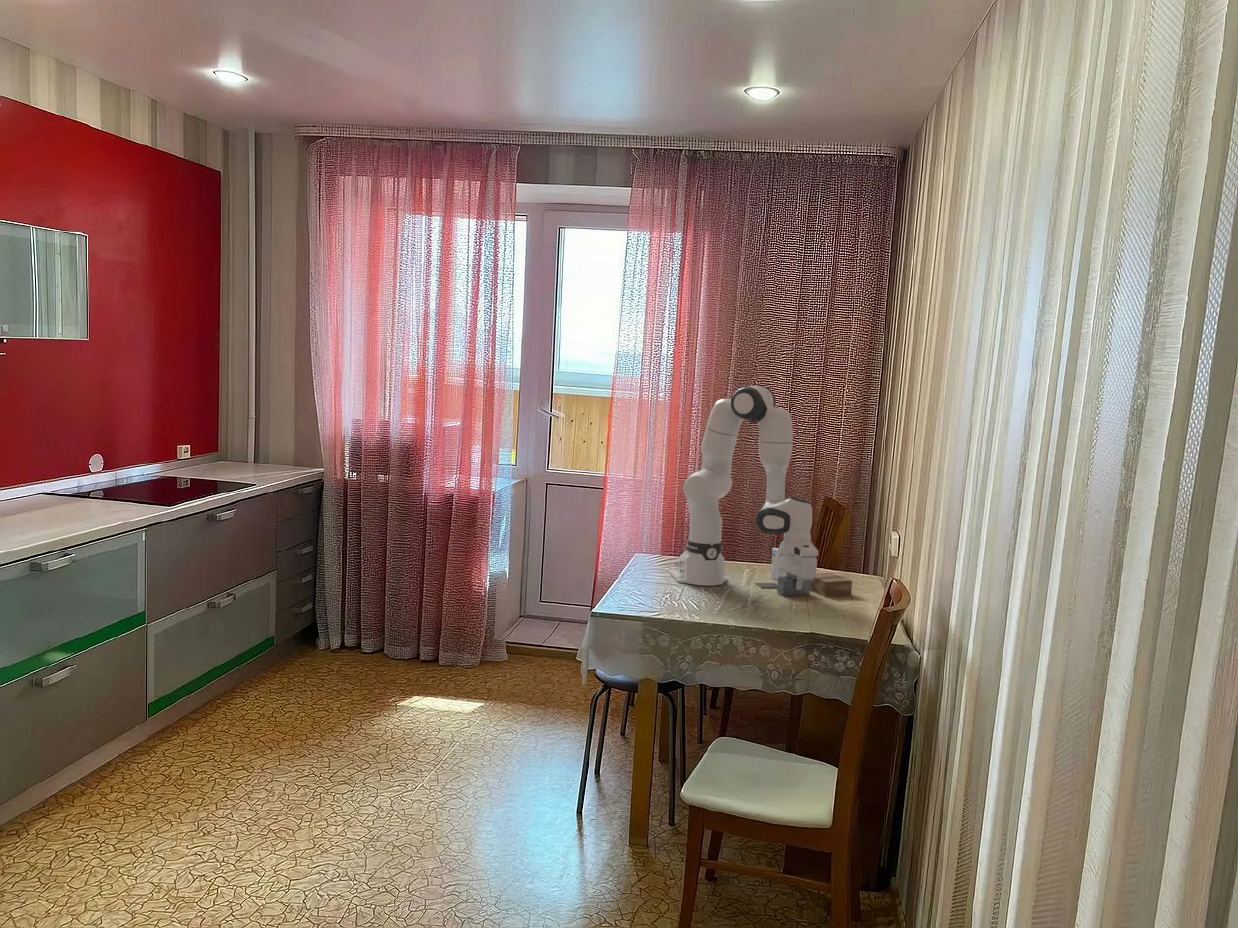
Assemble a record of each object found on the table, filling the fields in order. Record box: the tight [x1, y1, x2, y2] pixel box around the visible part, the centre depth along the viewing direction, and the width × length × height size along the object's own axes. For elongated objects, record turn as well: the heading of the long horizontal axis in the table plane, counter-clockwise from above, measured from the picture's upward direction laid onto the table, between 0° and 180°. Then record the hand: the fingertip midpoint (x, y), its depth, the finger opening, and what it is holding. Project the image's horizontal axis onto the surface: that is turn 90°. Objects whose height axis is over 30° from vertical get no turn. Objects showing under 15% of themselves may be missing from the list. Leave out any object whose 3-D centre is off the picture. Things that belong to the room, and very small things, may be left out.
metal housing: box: [776, 576, 811, 597], centre depth 309 cm, size 4×10×6 cm, turn 110°
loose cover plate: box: [754, 582, 778, 589], centre depth 319 cm, size 6×7×1 cm
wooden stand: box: [810, 572, 853, 598], centre depth 315 cm, size 12×10×5 cm
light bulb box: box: [770, 547, 796, 581], centre depth 329 cm, size 11×7×11 cm, turn 22°
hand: (793, 586), depth 309 cm, fingers closed on metal housing, 4 cm apart
